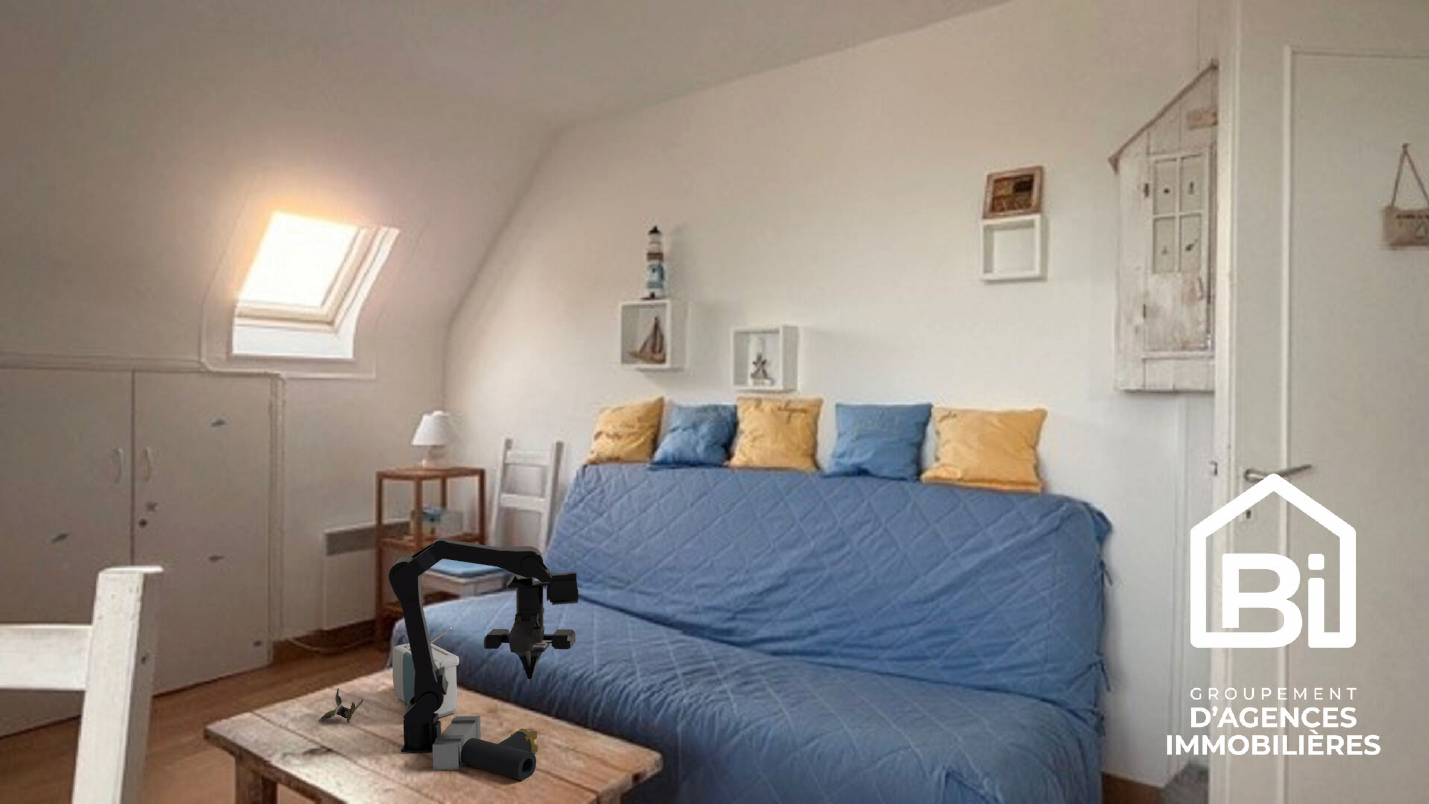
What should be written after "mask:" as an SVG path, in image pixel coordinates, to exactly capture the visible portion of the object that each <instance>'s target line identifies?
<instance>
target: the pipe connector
mask: <svg viewBox="0 0 1429 804" xmlns="http://www.w3.org/2000/svg"><path fill="white" fill-rule="evenodd" d="M537 739H538V732H537V731H536V730H530V731H528V729H526V728H520V729H519V730H516V731H515V732H513V733H511V734H510V736H508V737H507V738H505V739H504V740H502V741H500V742H498V743H496V742H492V741H487V740H483V739H481V740H480V739H477V738H470V739H469V740H467V741H466V742H465V744H464V745H463V747H462V750H461V761H462V763H463V764H462V765H466V766H469V767H473V768H477V769H480V770H484V771H488V772H491V773H495V774H498V775H502V776H506V777H509V778H513V779H516V780H519V781H526V780H527V779H528V778H530V777H532V776H533V774H534V773H535V770H536V767H537V757H536V755H535V754H536V753H538V751H539V749H538V744H536V743H535V740H537ZM526 778H527V779H526Z"/></svg>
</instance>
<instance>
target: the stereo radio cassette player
mask: <svg viewBox="0 0 1429 804" xmlns="http://www.w3.org/2000/svg"><path fill="white" fill-rule="evenodd" d="M450 630H452V627H451V626H450V627H449V628H448V629H447V630H445V631H444V632H441V634H439V635H438V636H436V637H435V638H434V639H432V640H431V641H430V644H431V649H432V654H433V659H434V662H435V664H436V666H437V667H438V669H439V668H441V667H445V677H446V680H447V681H448V683H449V684H448V688H447V693H446V695H445V696H444V701H443V704H442V706H441V707H440V709H438V710H437V711H436V712H434V713H438V719H440V718H443V717H446V716H448V715H451V714H455V713H457V710H458V696H457V693H458V692H457V690H458V689H457V686H458V685H457V666H459V664H460V658H459V657H460V656H458V655H456V654H454V653H452V652H449V651H447V650H445V649H444V648H443V647H439V646H437V645H436V644H434V643H435V642H436V641H437V640H438V639H440V638H441V637H442V636H444V635H445V634H447V632H449V631H450ZM392 649H393V650H392V658H391V659H392V663H391V664H392V668H391V669H392V684H393V695H394V696H395V697H397V698H398V699H399V700H401V702H404V703H405V704H407V705H408V702H409V700H410V699H411V698H412V697H413V696H414V678H415V669H414V664H413V659H412V655H411V650H410V645H409V642H408V643H403V644H400V645H399V644H398V645H395V646H394V647H393V648H392Z"/></svg>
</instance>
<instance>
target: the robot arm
mask: <svg viewBox="0 0 1429 804" xmlns="http://www.w3.org/2000/svg"><path fill="white" fill-rule="evenodd" d="M442 560H449V561H454V562H463V563H467V564H468V563H469V564H475V565H481V566H482V565H483V566H488V567H495V568H500V569H503V571H504V570H505V571H506V572H509V573H511V574H513V576H512V577H511V578H510V579H509V581H507V582H506V583H507V589H515V594H516V595H515V605H516V606H515V608H516V609H515V611H516V612H515V614H514V623H513V625H512V627H511V629H510V630H509V629H508V628H493V629H492V630H491V631H489V632H488V633H487V634H486V635H485V636H484V639H483V649H484V650H497V649H499V648H500V647H501V646H502V644H508V645H509V650H510V651H509V652H510V653H514V654H515V655H517V657H518V658H519V660H520V663H521V664H522V666H523V670H524V672H525V674H526V678H527V679H528V680H533V679H534V675H535V672H536V669H537V667H538V664H539V661H540V659H541V656H542V654H543V653H545V652H546V650H547V649H548V648H549V647H550V644H551V647H553V649H554V650H570V649H572V647H573V646H574V644H575V643H576V642H577V641H576V640H577V639H576V631H575V630H574V629H572V628H571V629H569V628H568V629H567V628H566V629H564V628H562V629H561V628H560V629H559V628H558V629H556V630H555V632H554V633H545V626H544V614H545V607H544V587H545V594H546V595H545V596H546V598H545V600H546V602H549V603H551V605H552V606H558V605H572V604H578V603H579V588H578V581H577V575H578V574H577V573H576V571H569V572H561V573H551V571H550V568H549V567H547V566H546V564H545V563H544V559H543V555H542V553H541V551H540V549H538V548H537V547H535V546H527V545H525V546H520V545H519V546H511V547H498V546H493V545H487V544H481V543H480V544H478V543H472V542H466V541H459V540H452V539H448V538H446V537H439V538H436V539H435V540H433V542H432V543H430V544H429V545H427V546H425V547H423V548H422V549H421V550H418V551H417V552H416V553H414V554H413V555H411V556H409V555H408V556H402V557H400V558H398V559H397V560H396V561H395V562H394V563H393V566H392V567H391V568H390V569H389V572H388V582H389V584H390V587H391V588H392V589H391V590H392V592H393V593H394V595H395V597H396V599H397V602H399V604H400V606H401V611H402V615H403V619H404V625H405V628H406V629H405V630H406V634H407V635H406V636H407V640H408V643H409V645H410V650H411V655H412V659H413V664H414V669H415V678H414V696H413V697H412V698H411V699H410V700H409V702H408V704H407V705H406V708H405V711H404V714H403V720H402V721H403V723H402V725H403V747H401V749H400V752H401V753H431V752H433V744H434V742H435V741H436V738H437V737H438V736H439V735H441V734H442V722H441V720H439V718H438V713H434V712H436V711H437V710H438V709H440V707H441V706H442V704H443V701H444V696H445V695H446V693H447V688H448V684H449V683H448V681H447V680H446V677H445V667H441V668H439V669H438V667H437V666H436V664H435V662H434V659H433V654H432V649H431V644H430V642H431V641H430V640H431V639H430V636H429V631H428V625H427V621H426V616H425V611H424V607H423V601H422V585H423V584H422V582H423V581H422V580H423V579H422V577H423V576H422V575H423V574H424V573H426V572H427V571H428V570H430V569H431V568H432V567H433V566H435V565H436V564H438V563H439V562H440V561H442ZM519 576H521V577H519ZM533 578H534V579H536V580H533Z"/></svg>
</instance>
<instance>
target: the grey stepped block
mask: <svg viewBox="0 0 1429 804" xmlns="http://www.w3.org/2000/svg"><path fill="white" fill-rule="evenodd" d="M481 733H482V732H481V715H456V716H455V717H453V718H452V719H451V723H450V724H448V726H447V727H446V728H445V729H444V731H443V732H441V735H439V736H438V737H437V738H436V741H435V742H434V744H433V751H432V769H433V771H457V770H460V769H461V767H462V766H463V765H464V764H463V763H462V761H461V750H462V747H463V745H464V744H465V742H466V741H467V740H469V739H470V738H477V739H480V740H482V735H481ZM446 769H447V770H446Z"/></svg>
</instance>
